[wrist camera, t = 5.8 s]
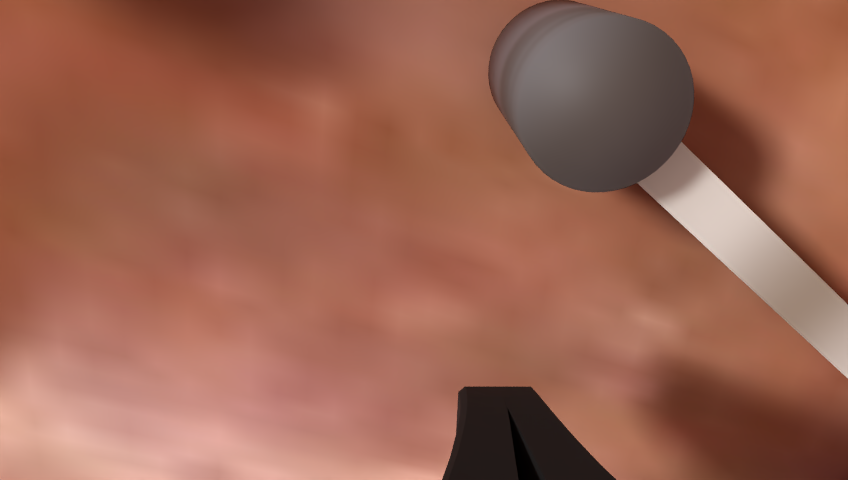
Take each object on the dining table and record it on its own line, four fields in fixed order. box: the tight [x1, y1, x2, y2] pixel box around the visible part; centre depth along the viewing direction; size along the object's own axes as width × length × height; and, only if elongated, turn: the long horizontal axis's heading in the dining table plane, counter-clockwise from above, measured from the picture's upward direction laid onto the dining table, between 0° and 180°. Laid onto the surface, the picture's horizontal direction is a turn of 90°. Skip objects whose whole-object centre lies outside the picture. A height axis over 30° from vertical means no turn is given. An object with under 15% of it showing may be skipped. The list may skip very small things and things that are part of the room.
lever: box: [488, 0, 848, 378], centre depth 17 cm, size 17×3×4 cm, turn 49°
